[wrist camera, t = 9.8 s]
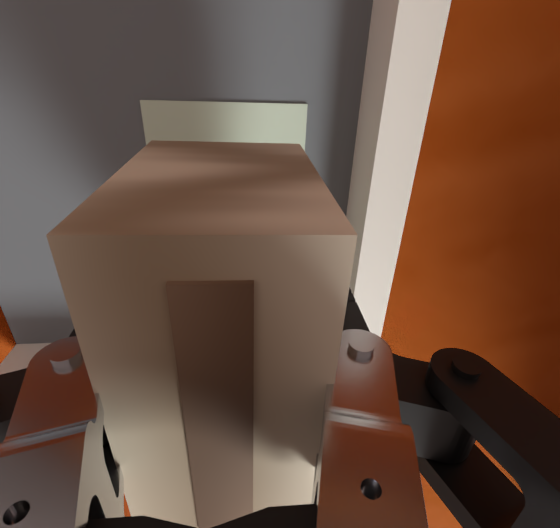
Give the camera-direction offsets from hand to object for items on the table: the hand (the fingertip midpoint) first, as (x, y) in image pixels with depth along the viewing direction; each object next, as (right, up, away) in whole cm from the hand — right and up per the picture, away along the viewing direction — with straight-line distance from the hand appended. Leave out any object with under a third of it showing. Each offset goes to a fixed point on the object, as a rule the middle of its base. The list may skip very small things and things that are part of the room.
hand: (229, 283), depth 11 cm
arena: (-3, +3, +4) cm, 6 cm away
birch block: (0, 0, +1) cm, 1 cm away
